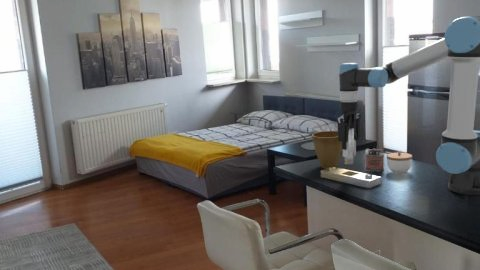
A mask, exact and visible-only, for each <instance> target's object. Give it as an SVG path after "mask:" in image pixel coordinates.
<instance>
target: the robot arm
mask: <svg viewBox="0 0 480 270" xmlns="http://www.w3.org/2000/svg"><path fill="white" fill-rule="evenodd" d="M447 59H448V60H450V61H451V70H450V82H449V83H450V84H449V94H448V95H449V96H448V97H449V98H448V108H447V109H448V111H447V123H446V130H444V131H443V132H442V133H441V140H440V141H441V142H440V145H439V146H438V148H437V150H436V152H435V159H436V163H437V164H438V166H439V167H440V168H441V169H442V170H443V171H444V172H446V173H449V174H450V176H449V177H450V178H449V180H448V183H447V184H448V185H447V187H448V190H449V191H451V192H454V193H457V194H461V195H467V196H480V130H474V128H475V117H476V115H475V114H476V106H477V94H478V93H477V92H478V84H479V83H478V81H479V70H480V16H479V15H475V16H473V15H472V16H471V15H467V16H462V17H459V18H456V19H454V20H453V21H452V22H450V24H449V25H448V26H447V27H446V30H445V32H444V37H443V38H441V39H439V40H437V41H435V42H433V43H430V44H428V45H426V46H423V47H422V48H419V49H418V50H415V51H413V52H411V53H409V54H407V55H404V56H402V57H400V58H398V59H396V60H393V61H392V62H389V63H387V64H385V65H381V66H376V67H366V68H361V67H359V64H358V63H357V62H346V63H345V62H343V63H341V64H340V65H339V74H338V77H339V100H340V102H339V111H341V113H340V114H341V115H340V116H339V117H337V118H336V123H337V131H338V140H339V141H341V142H342V158H344V157H349V142H347V141H348V132H349V127H350V128H354V156H356V154H357V148H356V147H357V141H358V140H359V138H360V136H361V133H360V132H361V117H362V114H360V113H358V112H357V111H358V110H359V101H358V100H359V88H373V89H377V88H384V87H386V85H389V84H393V83H395V82H396V81H397V80H400V79H402V78H404V77H407V76H409V75H411V74H413V73H417V72H419V71H421V70H423V69H426V68H428V67H430V66H433V65H435V64H437V63H440V62H442V61H444V60H447Z"/></svg>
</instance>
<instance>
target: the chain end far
mask: <svg viewBox="0 0 480 270" xmlns="http://www.w3.org/2000/svg"><path fill="white" fill-rule="evenodd" d="M359 173H362V172H361V171H355V170H350V169H345V168H341V167H338V166H337V167H329V168H327V169H325V168H323V169H321V170H320V178H324V179H329V180H333V181H337V182H340V181H339V178H342V179H346V180H349V177H350V176H349V174H350V175H356V174H359Z"/></svg>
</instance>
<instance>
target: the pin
mask: <svg viewBox="0 0 480 270" xmlns="http://www.w3.org/2000/svg"><path fill="white" fill-rule="evenodd" d="M347 142H349V157H343V158H344V161H343V162H344V164H345V165H353V164H355V155H354V128H350V127H349V132H348V141H347Z"/></svg>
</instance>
